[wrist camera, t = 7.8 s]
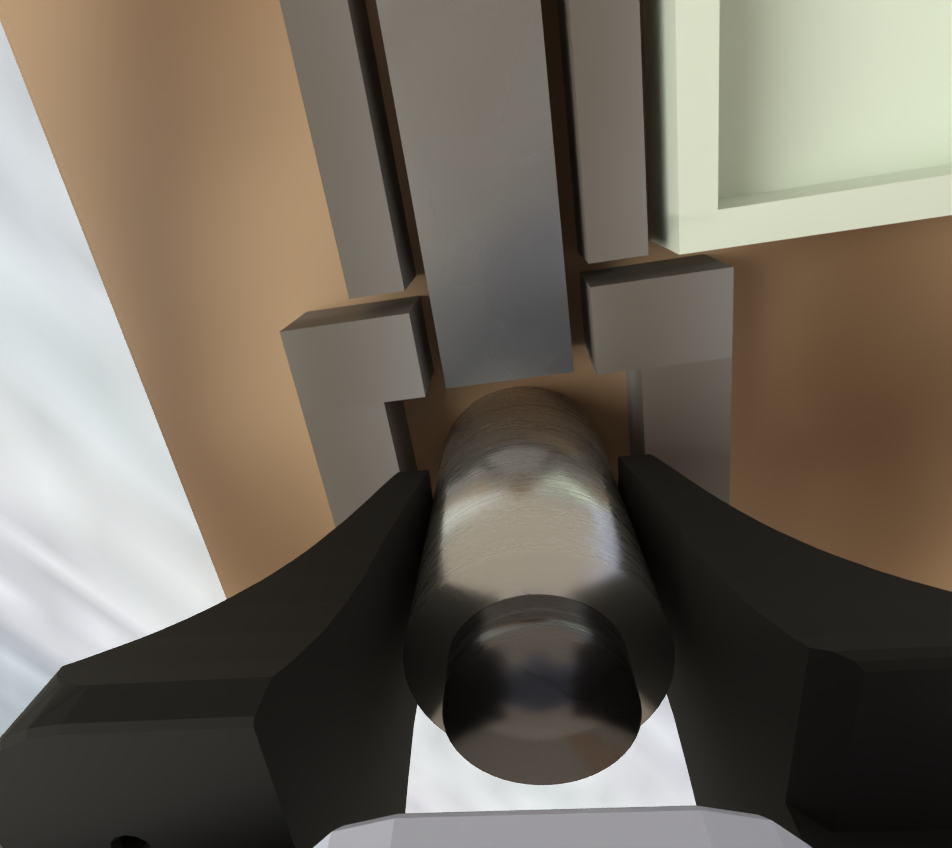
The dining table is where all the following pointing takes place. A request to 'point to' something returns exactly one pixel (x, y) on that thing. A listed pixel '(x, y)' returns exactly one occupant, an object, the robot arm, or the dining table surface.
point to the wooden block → (482, 182)
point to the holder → (407, 297)
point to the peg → (534, 597)
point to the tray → (795, 117)
